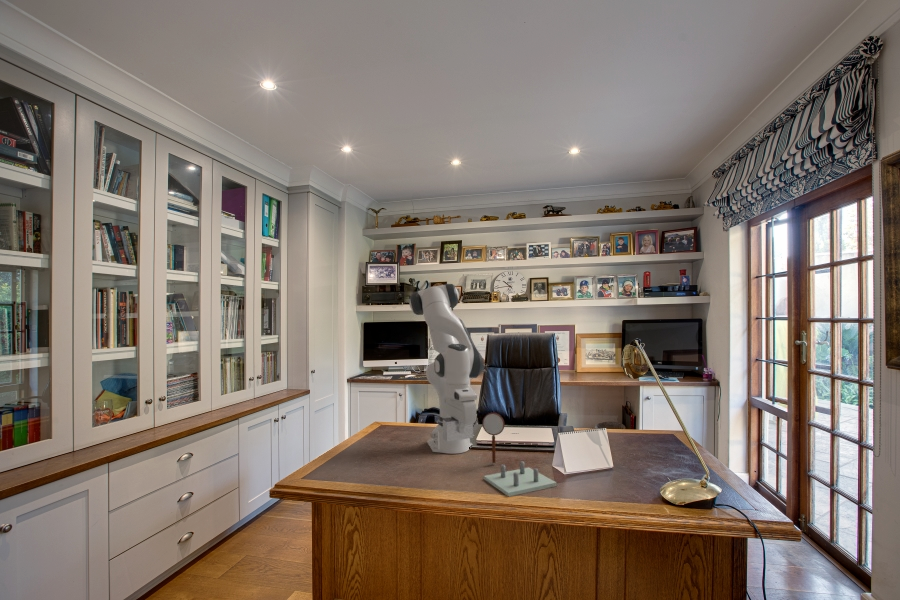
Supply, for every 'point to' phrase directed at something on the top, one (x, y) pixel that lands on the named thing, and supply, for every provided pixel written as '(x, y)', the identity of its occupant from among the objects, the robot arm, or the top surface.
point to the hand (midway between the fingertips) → (457, 431)
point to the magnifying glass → (493, 428)
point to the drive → (455, 430)
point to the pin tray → (519, 480)
